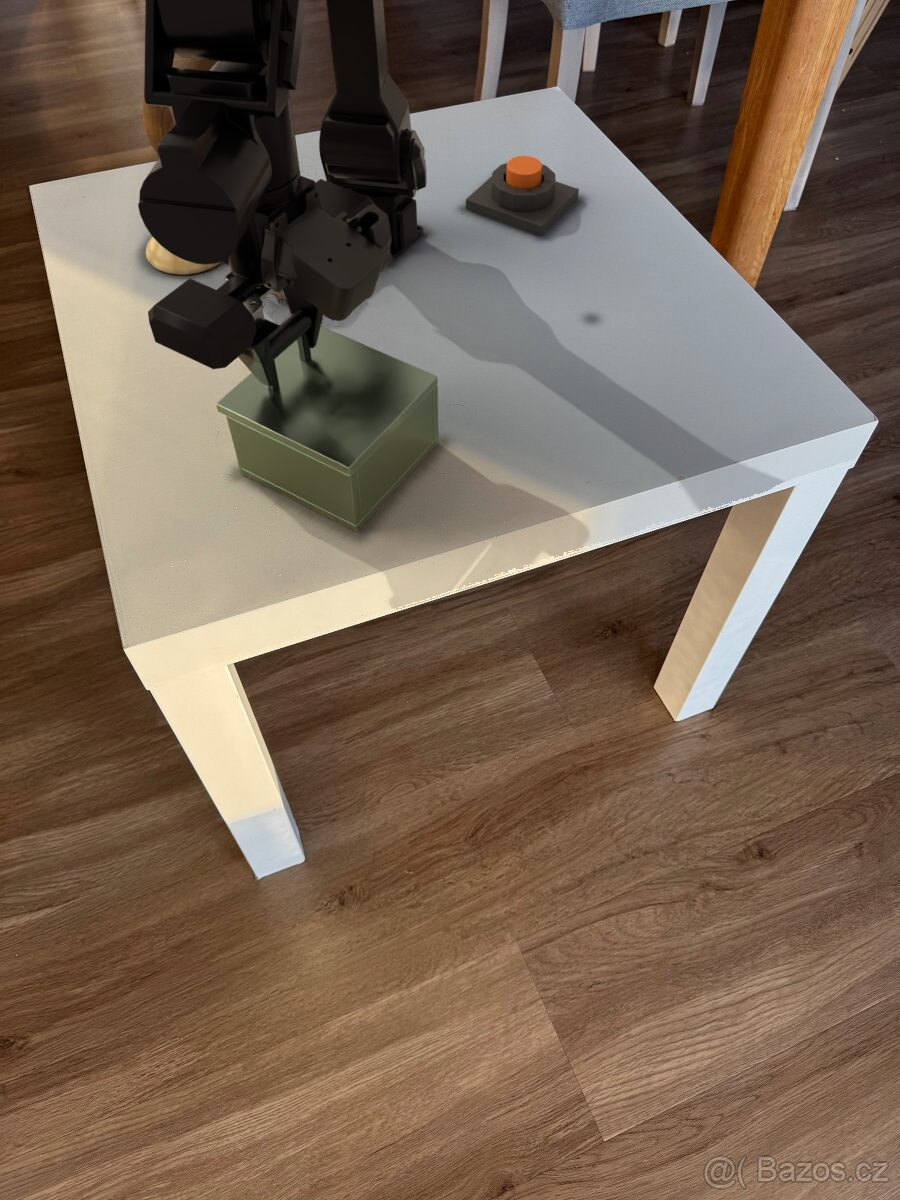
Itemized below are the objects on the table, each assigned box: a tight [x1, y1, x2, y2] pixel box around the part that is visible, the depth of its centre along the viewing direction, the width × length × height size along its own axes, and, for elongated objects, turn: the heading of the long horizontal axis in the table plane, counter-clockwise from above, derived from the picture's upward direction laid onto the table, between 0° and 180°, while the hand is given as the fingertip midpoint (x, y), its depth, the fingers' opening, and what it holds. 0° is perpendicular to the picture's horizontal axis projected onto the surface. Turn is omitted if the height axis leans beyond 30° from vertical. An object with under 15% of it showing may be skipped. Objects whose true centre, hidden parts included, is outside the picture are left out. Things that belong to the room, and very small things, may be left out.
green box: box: [226, 384, 439, 533], centre depth 75 cm, size 12×12×6 cm
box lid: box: [215, 310, 439, 475], centre depth 71 cm, size 12×12×5 cm
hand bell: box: [142, 87, 221, 276], centre depth 88 cm, size 8×8×16 cm
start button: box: [506, 155, 543, 189], centre depth 97 cm, size 4×4×2 cm
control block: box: [465, 162, 580, 237], centre depth 98 cm, size 9×8×3 cm
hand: (288, 364), depth 73 cm, fingers closed on box lid, 5 cm apart
